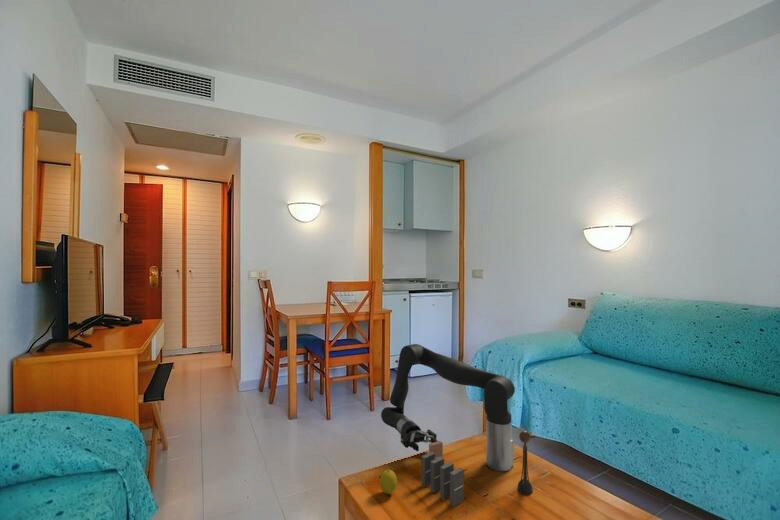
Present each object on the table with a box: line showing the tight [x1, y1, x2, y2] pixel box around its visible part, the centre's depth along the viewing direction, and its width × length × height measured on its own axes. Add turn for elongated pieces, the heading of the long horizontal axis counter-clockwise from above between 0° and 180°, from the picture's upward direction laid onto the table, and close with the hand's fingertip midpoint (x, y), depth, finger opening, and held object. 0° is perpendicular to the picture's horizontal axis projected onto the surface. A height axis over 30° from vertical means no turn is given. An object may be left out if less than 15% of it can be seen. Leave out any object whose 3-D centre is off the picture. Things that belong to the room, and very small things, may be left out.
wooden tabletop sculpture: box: [517, 430, 536, 495], centre depth 124 cm, size 6×5×20 cm
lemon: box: [379, 469, 398, 495], centre depth 121 cm, size 6×6×8 cm
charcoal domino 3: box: [439, 461, 455, 501], centre depth 120 cm, size 2×5×10 cm, turn 130°
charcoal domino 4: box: [449, 466, 465, 508], centre depth 117 cm, size 2×5×10 cm, turn 130°
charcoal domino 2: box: [430, 457, 445, 494], centre depth 124 cm, size 2×5×10 cm, turn 130°
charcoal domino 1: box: [421, 452, 435, 488], centre depth 127 cm, size 2×5×10 cm, turn 129°
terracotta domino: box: [428, 440, 444, 459], centre depth 135 cm, size 2×5×10 cm, turn 115°
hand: (427, 446), depth 141 cm, fingers open, 8 cm apart
